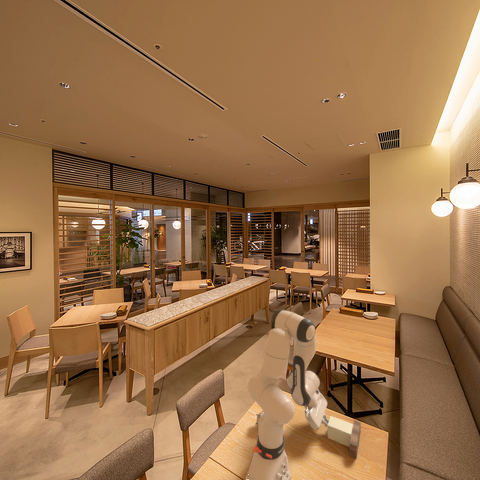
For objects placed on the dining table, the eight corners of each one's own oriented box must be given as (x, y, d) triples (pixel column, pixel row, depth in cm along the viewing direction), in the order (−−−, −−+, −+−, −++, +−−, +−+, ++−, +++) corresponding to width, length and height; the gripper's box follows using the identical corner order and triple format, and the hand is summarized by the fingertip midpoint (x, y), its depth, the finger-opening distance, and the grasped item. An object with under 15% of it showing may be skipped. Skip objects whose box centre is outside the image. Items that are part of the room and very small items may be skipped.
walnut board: (356, 458, 115) (356, 446, 114) (349, 455, 116) (349, 443, 116) (360, 432, 128) (360, 422, 128) (354, 430, 130) (354, 419, 129)
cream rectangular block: (351, 447, 120) (351, 434, 120) (327, 437, 126) (327, 425, 125) (353, 436, 126) (353, 424, 125) (330, 428, 132) (330, 415, 131)
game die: (262, 430, 136) (262, 408, 142) (274, 432, 131) (274, 409, 137) (251, 430, 131) (252, 407, 137) (264, 432, 126) (264, 409, 131)
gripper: (308, 411, 123) (328, 437, 119) (318, 386, 140) (336, 409, 136) (299, 415, 126) (318, 442, 122) (310, 391, 143) (327, 413, 139)
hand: (328, 424), depth 129 cm, fingers closed, pressing on cream rectangular block
